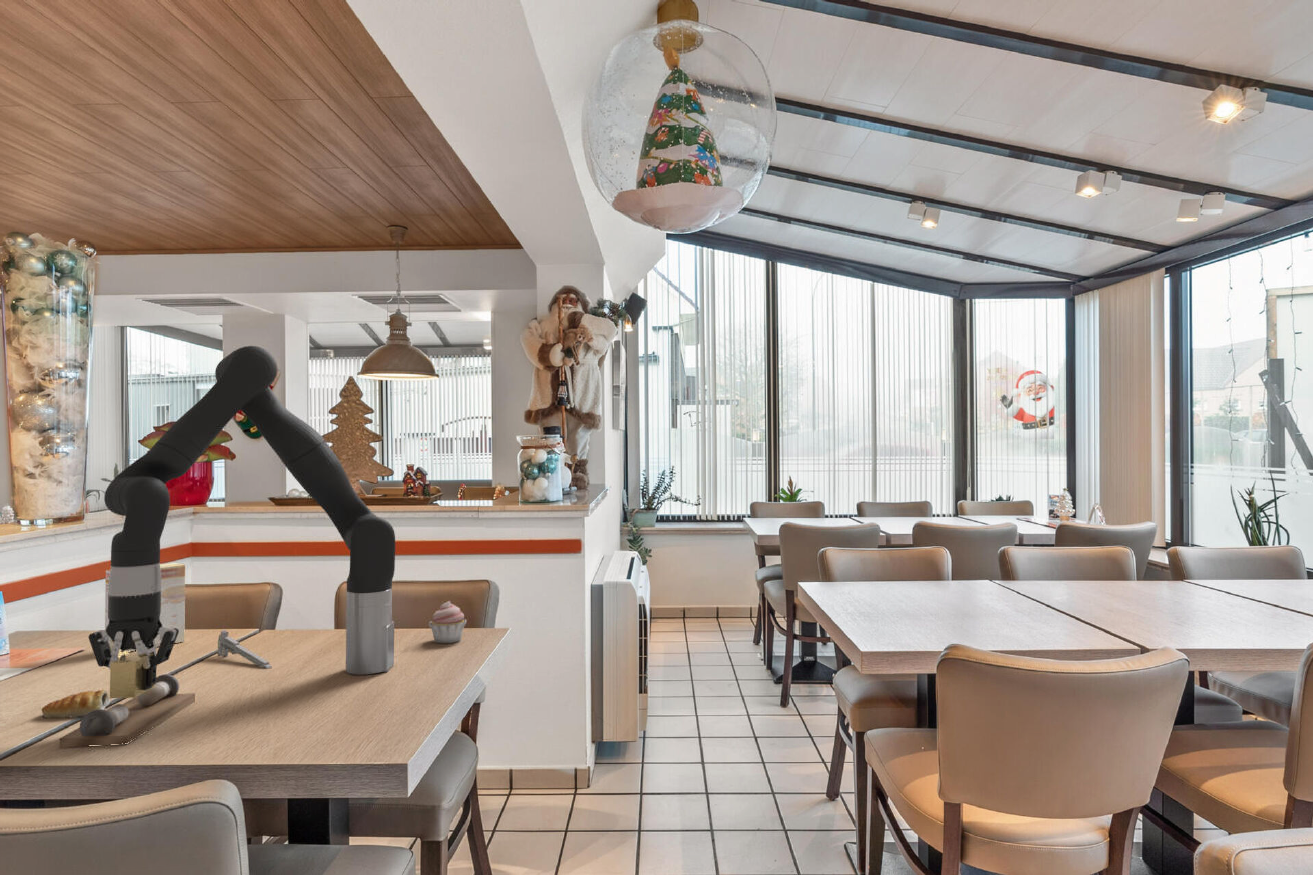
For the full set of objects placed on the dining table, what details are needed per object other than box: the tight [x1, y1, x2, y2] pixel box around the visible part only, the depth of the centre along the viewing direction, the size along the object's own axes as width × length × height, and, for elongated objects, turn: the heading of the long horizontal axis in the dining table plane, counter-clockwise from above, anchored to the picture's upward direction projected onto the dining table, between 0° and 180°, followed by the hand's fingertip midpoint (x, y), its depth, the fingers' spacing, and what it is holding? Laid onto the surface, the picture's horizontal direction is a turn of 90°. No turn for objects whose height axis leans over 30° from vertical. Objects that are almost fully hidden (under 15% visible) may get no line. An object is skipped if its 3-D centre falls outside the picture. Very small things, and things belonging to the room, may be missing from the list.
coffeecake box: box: [104, 562, 186, 653], centre depth 178 cm, size 15×7×20 cm, turn 144°
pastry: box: [41, 689, 110, 719], centre depth 131 cm, size 9×7×4 cm
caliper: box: [217, 629, 273, 670], centre depth 164 cm, size 20×1×6 cm, turn 59°
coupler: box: [109, 652, 155, 699], centre depth 126 cm, size 4×6×6 cm, turn 7°
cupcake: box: [428, 600, 467, 644], centre depth 182 cm, size 9×9×10 cm
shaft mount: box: [59, 673, 196, 749], centre depth 126 cm, size 10×21×5 cm, turn 7°
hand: (133, 688), depth 126 cm, fingers closed on coupler, 4 cm apart
